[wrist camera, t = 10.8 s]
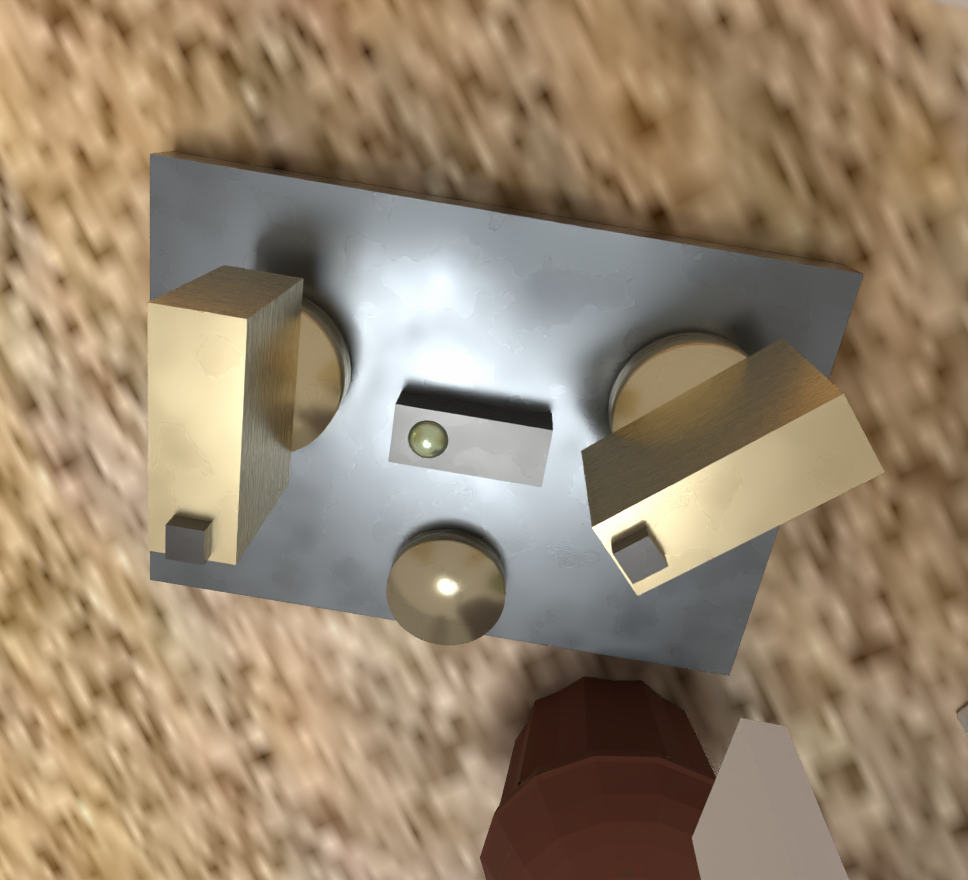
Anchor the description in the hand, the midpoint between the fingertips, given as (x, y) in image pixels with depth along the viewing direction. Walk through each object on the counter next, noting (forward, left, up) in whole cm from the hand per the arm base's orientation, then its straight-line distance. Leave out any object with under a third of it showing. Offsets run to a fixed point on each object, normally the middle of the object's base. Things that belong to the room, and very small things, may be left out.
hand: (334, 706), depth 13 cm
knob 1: (+7, +1, -19) cm, 20 cm away
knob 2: (-9, 0, -19) cm, 21 cm away
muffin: (-10, +19, -22) cm, 31 cm away
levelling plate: (-1, +3, -22) cm, 22 cm away
